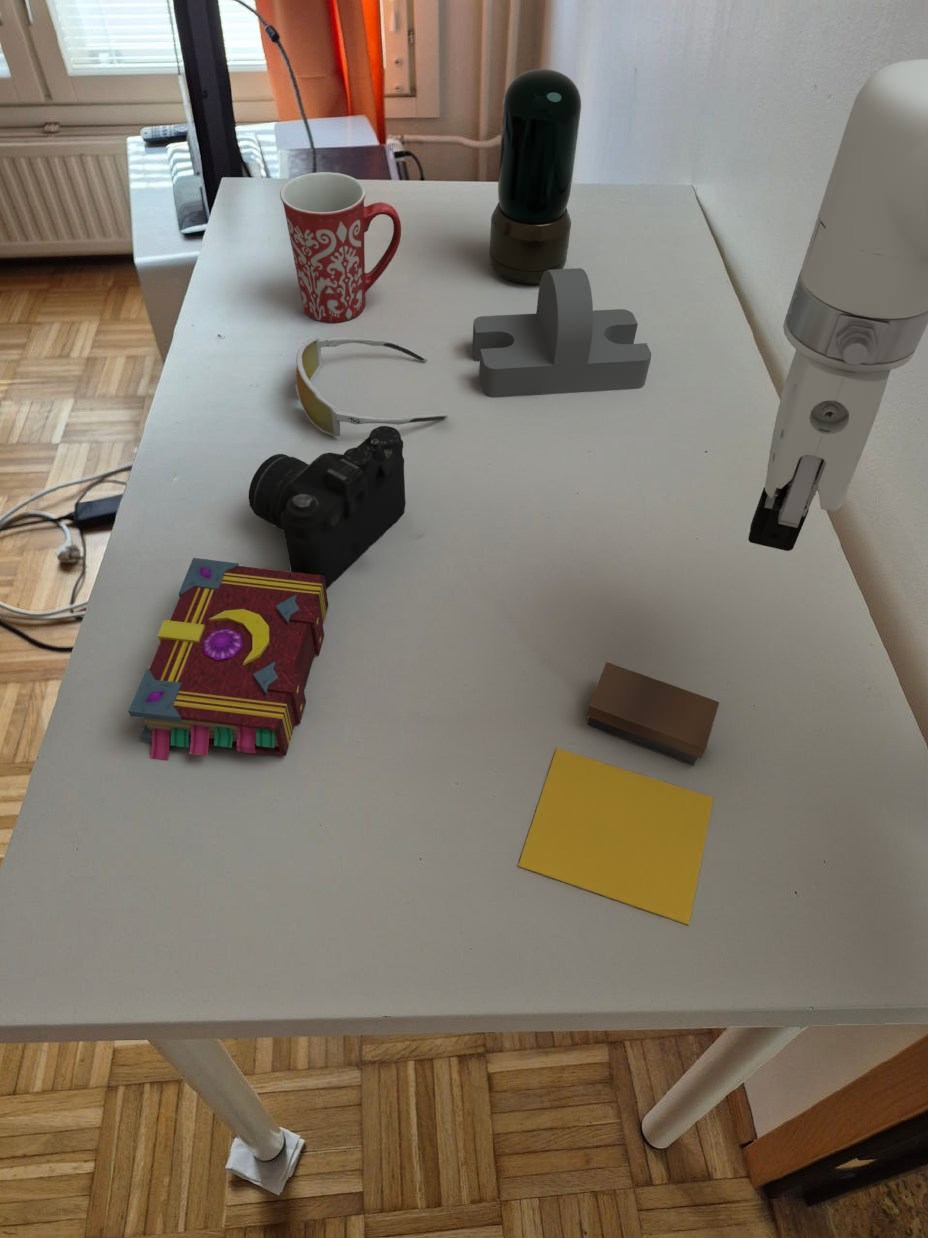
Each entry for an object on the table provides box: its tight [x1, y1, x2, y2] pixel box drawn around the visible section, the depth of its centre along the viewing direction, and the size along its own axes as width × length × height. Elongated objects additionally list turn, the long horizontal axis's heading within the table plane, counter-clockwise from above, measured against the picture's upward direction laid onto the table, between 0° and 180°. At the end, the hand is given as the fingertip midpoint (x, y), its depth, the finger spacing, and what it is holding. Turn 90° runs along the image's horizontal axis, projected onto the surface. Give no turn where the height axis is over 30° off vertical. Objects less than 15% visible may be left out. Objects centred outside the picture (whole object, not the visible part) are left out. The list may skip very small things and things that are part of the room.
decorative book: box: [127, 557, 329, 761], centre depth 69 cm, size 11×16×5 cm
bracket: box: [471, 267, 652, 399], centre depth 94 cm, size 10×18×11 cm, turn 98°
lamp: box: [488, 68, 582, 285], centre depth 102 cm, size 10×10×22 cm
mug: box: [279, 171, 402, 324], centre depth 99 cm, size 13×9×14 cm
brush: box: [585, 661, 720, 766], centre depth 68 cm, size 9×4×3 cm, turn 67°
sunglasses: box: [295, 336, 450, 437], centre depth 92 cm, size 14×15×5 cm
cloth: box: [517, 747, 714, 926], centre depth 63 cm, size 12×10×1 cm
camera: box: [248, 425, 407, 590], centre depth 77 cm, size 14×11×10 cm
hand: (770, 539), depth 65 cm, fingers closed
